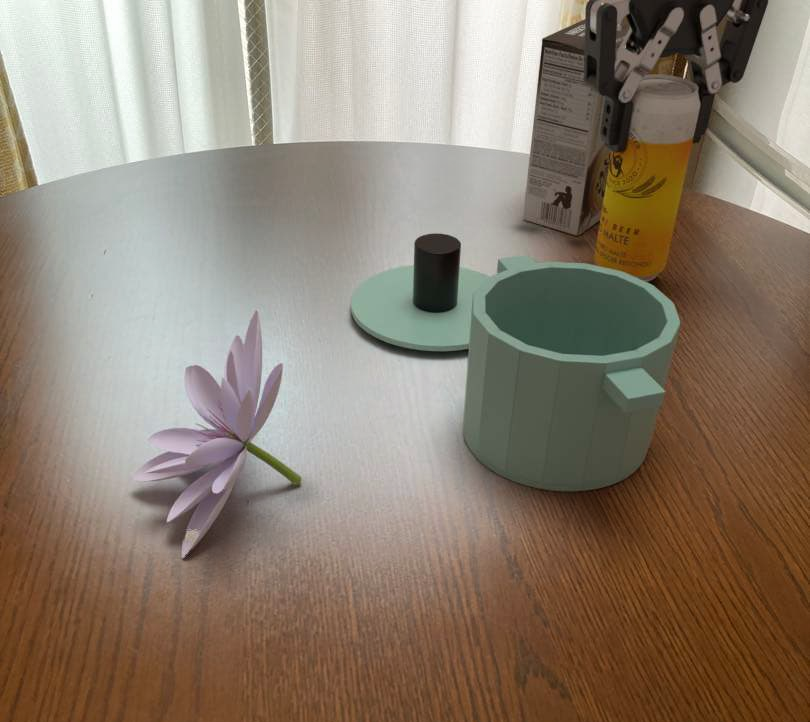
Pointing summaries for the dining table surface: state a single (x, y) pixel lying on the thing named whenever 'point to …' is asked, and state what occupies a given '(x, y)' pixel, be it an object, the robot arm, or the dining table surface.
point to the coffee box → (567, 138)
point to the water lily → (218, 433)
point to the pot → (566, 372)
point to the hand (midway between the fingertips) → (651, 144)
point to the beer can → (648, 178)
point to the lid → (421, 299)
